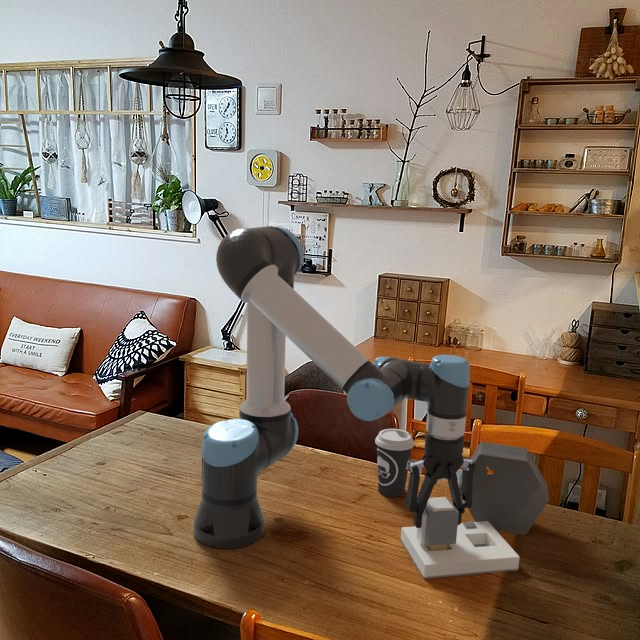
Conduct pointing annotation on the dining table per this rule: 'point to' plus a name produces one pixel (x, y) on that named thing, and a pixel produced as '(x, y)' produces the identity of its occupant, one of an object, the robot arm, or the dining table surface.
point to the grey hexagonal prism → (506, 488)
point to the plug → (440, 523)
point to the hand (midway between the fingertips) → (435, 539)
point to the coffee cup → (393, 461)
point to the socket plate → (463, 552)
